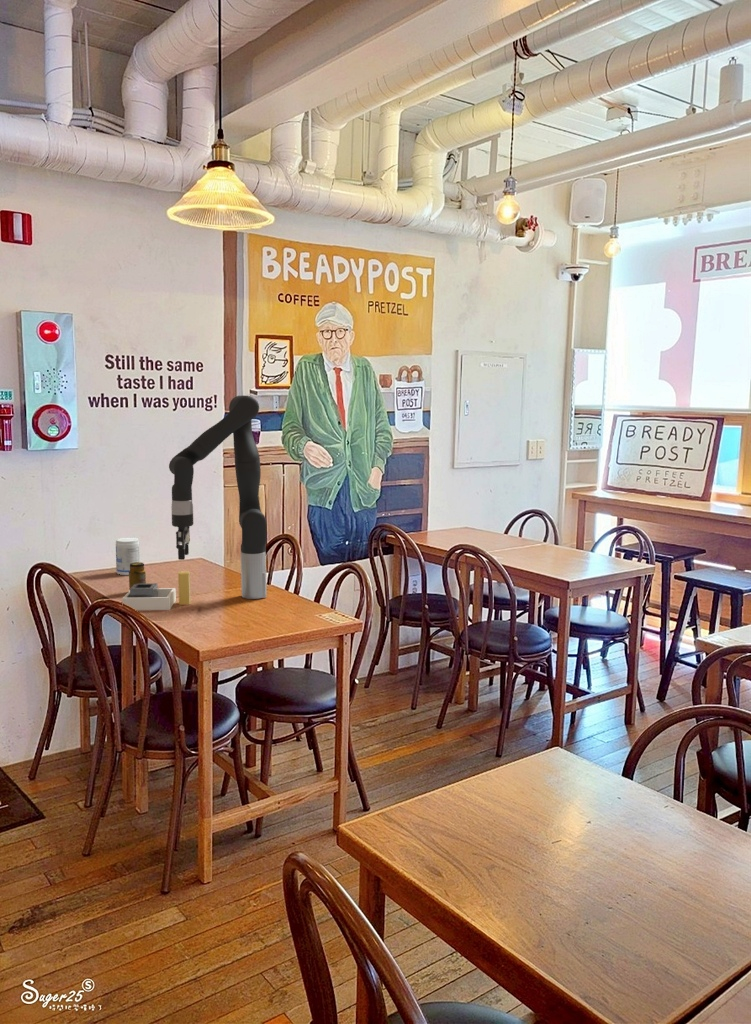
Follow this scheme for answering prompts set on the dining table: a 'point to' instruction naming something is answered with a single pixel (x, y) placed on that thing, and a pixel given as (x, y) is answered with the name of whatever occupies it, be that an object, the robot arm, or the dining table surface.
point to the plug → (184, 587)
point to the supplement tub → (126, 554)
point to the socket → (144, 590)
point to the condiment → (136, 574)
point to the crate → (152, 600)
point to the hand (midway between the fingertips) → (183, 557)
